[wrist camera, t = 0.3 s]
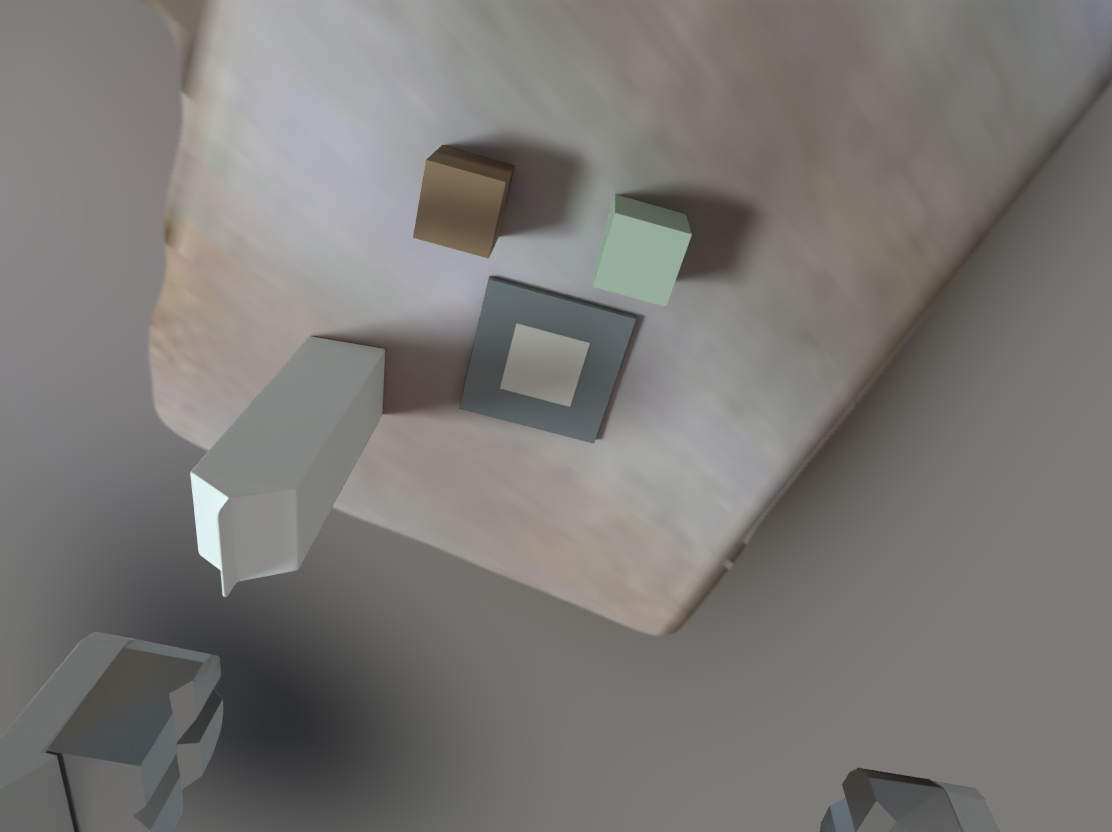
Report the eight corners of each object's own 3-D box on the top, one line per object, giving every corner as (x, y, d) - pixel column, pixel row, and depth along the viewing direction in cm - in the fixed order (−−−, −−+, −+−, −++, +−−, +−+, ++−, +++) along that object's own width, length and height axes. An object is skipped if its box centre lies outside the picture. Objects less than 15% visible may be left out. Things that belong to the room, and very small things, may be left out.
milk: (386, 347, 58) (277, 523, 39) (383, 415, 61) (280, 609, 42) (307, 334, 58) (159, 504, 39) (307, 403, 61) (170, 592, 42)
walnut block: (442, 144, 51) (426, 159, 47) (515, 165, 51) (505, 182, 47) (429, 217, 53) (413, 237, 49) (498, 236, 54) (488, 258, 49)
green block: (615, 193, 52) (615, 212, 47) (685, 213, 52) (691, 234, 48) (594, 262, 54) (592, 286, 50) (662, 281, 54) (666, 306, 50)
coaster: (489, 276, 55) (488, 279, 54) (635, 316, 56) (636, 320, 55) (460, 404, 60) (459, 409, 60) (594, 439, 61) (594, 444, 61)
